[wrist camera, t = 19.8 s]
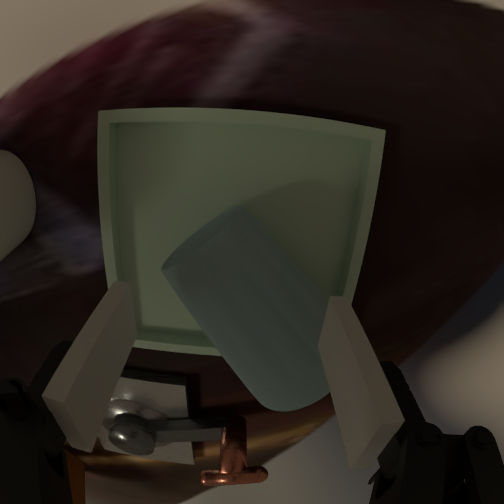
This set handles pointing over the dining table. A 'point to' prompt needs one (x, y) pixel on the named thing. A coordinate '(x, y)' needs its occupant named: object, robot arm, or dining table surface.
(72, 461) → the potted plant
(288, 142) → the tray
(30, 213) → the candle holder
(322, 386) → the cup
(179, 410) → the crank plate
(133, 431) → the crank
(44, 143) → the dining table surface
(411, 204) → the dining table surface
